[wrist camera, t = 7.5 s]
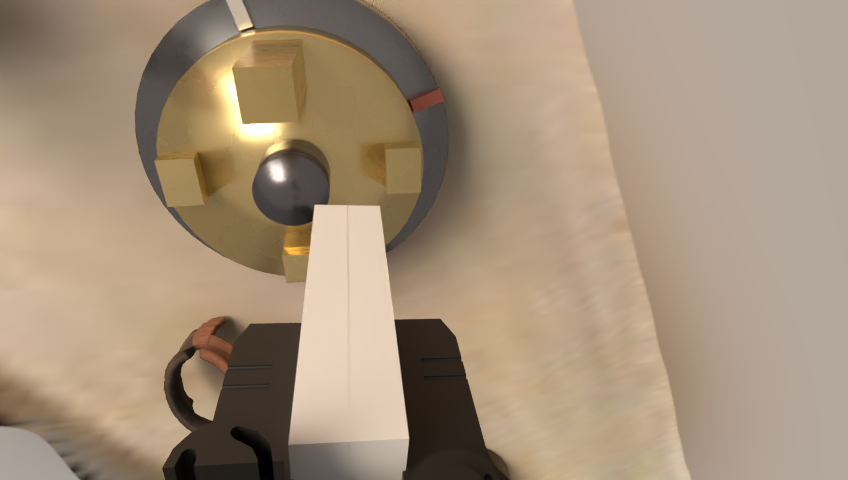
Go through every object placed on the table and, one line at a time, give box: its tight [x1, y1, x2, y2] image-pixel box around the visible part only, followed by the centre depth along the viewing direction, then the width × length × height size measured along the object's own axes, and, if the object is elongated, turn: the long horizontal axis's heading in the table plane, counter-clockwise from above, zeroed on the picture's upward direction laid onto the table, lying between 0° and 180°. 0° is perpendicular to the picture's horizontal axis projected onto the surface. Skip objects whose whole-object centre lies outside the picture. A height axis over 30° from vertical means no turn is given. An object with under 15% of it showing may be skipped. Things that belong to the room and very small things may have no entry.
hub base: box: [135, 0, 448, 257], centre depth 32 cm, size 19×19×9 cm
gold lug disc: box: [154, 25, 424, 283], centre depth 29 cm, size 15×15×9 cm
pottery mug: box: [164, 317, 233, 432], centre depth 42 cm, size 12×10×8 cm
